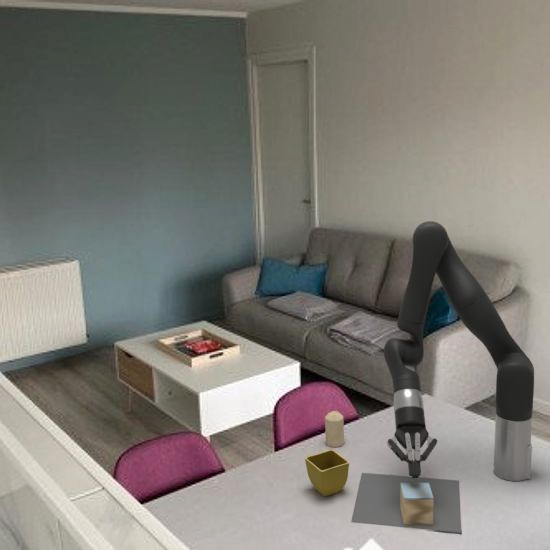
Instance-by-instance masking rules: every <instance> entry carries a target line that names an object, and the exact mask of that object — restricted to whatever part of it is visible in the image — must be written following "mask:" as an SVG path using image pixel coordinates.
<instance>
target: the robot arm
mask: <svg viewBox="0 0 550 550" xmlns="http://www.w3.org/2000/svg"><path fill="white" fill-rule="evenodd" d="M413 231H414V232H413V234H412V240H411V241H412V246H413V247H412V261H411V269H410V272H409V279H408V281H407V285H406V288H405V291H404V294H403V296H402V297H403V298H402V301H401V304H400V309H399V314H398V317H397V323H396V326H397V328H398V329H399V330H400V331H402V332H405V333H407V334H409V336H410V337H409V339H404V338H396V337H395V338H394V337H392V338H390V339H388V340H387V341H386V342H385V344H384V347H383V358H384V359H385V363H386V365H387V368H388V371H389V373H390V376H391V379H392V385H393V386H392V387H393V411H394V420H395V421H394V423H395V432H394V436H393V437H392V438H389V439H387V442H386V445H387V447H389V449H390V450H391V451H392V452H393V453H394V454H395V456H396V457H397V458H398V459H399V460H400V461H401V462H406V463H407V466H408V467H407V468H408V475H409V477H412V478H418V477H421V474H422V469H421V462H425V461H426V460H428V458H429V456H430V455H431V453H432V451H433V450H434V449H435V447H436V446H437V444H438V439H437V438H433V437H431V436H430V434H429V432H428V430H427V427H426V426H427V425H426V417H425V407H424V399H423V396H422V388H421V379H420V375H419V374H418V373H417V371H415V370H412V369H409V368H408V367H411V368H412V367H413V368H415V367H417V366H419V365H420V364H421V363H422V361H423V359H424V353H425V350H424V328H425V327H424V326H425V322H426V317H427V312H428V310H429V305H430V298H431V295H432V287H433V282H434V280H435V276H436V275H437V277H438V279H439V281H440V284H441V286H442V288H443V290H444V293H445V295H446V297H447V298H448V301H449V303H450V305H451V306H452V308H453V310H454V311H455V313H456V314H457V316H458V317H459V318H458V319H460V321H461V322H462V323H463V325H464V326H465V327H466V329H468V331H469V332H471V334H472V335H473V336H474V337H476V338H477V340H479V341H480V342H481V343H482V344H483V345H484V346H485V348H486V351H487V352H488V353H489V354H490V356H491V358H492V360H493V363H494V365H495V367H496V369H497V371H496V372H497V373H496V385H495V388H496V389H495V424H494V425H495V426H494V427H495V428H494V449H493V450H494V451H493V452H494V453H493V473H494V474H495V475H496V476H497V477H499V478H500V479H503V480H506V481H512V482H520V481H525V480H531V477H532V476H531V475H532V473H531V472H532V454H533V453H532V452H533V447H532V428H533V427H532V426H533V425H532V424H533V411H534V410H533V409H534V391H535V390H534V389H535V368H534V365H533V362H532V361H531V360H530V358H529V356H527V355H526V353H525V352H524V351H523V350H522V348H521V347H520V346H519V344H518V343H517V342H516V341H515V339H514V338H513V336H512V335H511V334H510V332H509V331H508V328H507V327H506V324H505V323H504V321H503V320H502V317H501V316H500V314H499V312H498V310H497V309H496V307H495V305H494V304H493V302H492V300H491V299H490V297H489V295H488V293H486V291H485V289H484V288H483V287H482V285H481V284H480V282H479V281H478V280H477V278H476V277H475V276H474V275H473V274H472V273H471V271H470V270H469V269H468V268H467V267H466V265H465V264H464V263H463V261H462V259H461V257H460V256H459V255H458V253H457V252H456V249H455V247H454V246H453V244H452V241H451V239H450V236H449V235H448V232H447V230H446V228H445V227H444V226H443V225H442V224H440V223H439V222H437V221H424V222H422V223H420V224H418V226H417V227H416V228H415V230H413ZM426 441H427V442H426ZM398 443H399V444H398ZM425 443H426V445H427V447H426V449H425V450H424V451H423V453H421V448H423V446H424V445H425ZM398 445H400V446H401V448H403V449H404V450H405V452H404V451H403V450H402V449H401V448H400V447H399V446H398Z"/></svg>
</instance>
